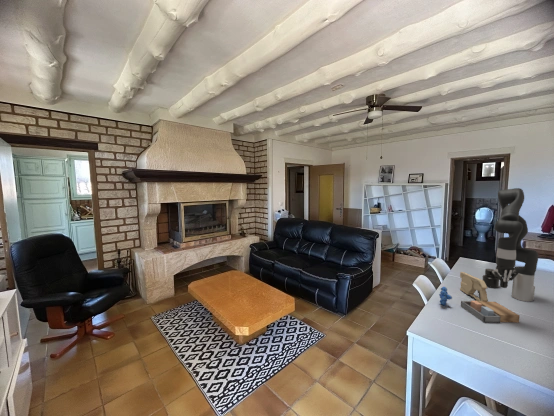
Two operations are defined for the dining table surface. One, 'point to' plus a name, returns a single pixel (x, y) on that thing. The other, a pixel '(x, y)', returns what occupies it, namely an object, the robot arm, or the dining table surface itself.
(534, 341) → the dining table surface
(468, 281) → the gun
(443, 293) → the grapes
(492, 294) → the dining table surface
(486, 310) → the pale blue-gray cube
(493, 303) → the board
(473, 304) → the cube terracotta
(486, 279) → the ink bottle
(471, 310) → the tray
